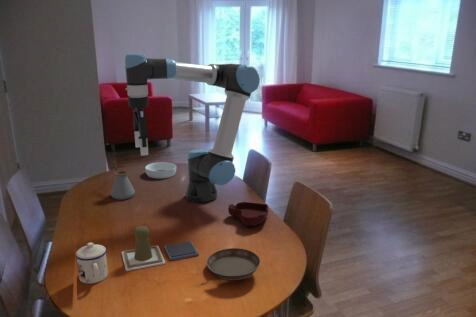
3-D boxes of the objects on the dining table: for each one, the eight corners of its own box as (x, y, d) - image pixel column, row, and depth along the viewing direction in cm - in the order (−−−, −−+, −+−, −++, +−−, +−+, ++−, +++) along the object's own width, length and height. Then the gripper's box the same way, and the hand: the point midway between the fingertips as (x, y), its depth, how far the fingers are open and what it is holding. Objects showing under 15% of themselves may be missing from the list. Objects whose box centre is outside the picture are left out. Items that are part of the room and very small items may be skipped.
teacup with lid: (76, 273, 133) (72, 240, 130) (105, 266, 137) (102, 234, 134) (82, 292, 123) (78, 257, 120) (113, 284, 127) (110, 250, 124)
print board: (158, 246, 150) (158, 244, 150) (165, 263, 139) (165, 260, 138) (121, 253, 146) (121, 250, 146) (125, 271, 134) (125, 268, 134)
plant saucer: (218, 289, 125) (217, 280, 124) (199, 261, 141) (199, 253, 140) (269, 276, 132) (269, 267, 131) (246, 251, 147) (246, 244, 147)
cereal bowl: (150, 185, 218) (149, 172, 216) (142, 176, 232) (141, 164, 230) (181, 180, 225) (180, 168, 224) (171, 172, 240) (170, 160, 238)
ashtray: (279, 222, 172) (280, 211, 171) (246, 230, 164) (246, 219, 163) (256, 208, 187) (256, 198, 186) (225, 215, 179) (225, 204, 178)
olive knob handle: (148, 261, 139) (146, 232, 136) (131, 260, 140) (129, 230, 137) (155, 253, 145) (153, 224, 142) (138, 251, 146) (136, 223, 143)
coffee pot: (138, 199, 197) (136, 169, 193) (113, 204, 192) (111, 173, 188) (126, 186, 215) (124, 159, 211) (104, 190, 210) (101, 162, 206)
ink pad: (191, 243, 153) (191, 240, 153) (198, 255, 144) (198, 252, 144) (164, 247, 150) (164, 244, 149) (170, 260, 141) (170, 257, 140)
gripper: (123, 93, 164) (127, 144, 170) (132, 100, 142) (136, 159, 147) (142, 92, 167) (146, 143, 173) (154, 99, 145) (157, 157, 150)
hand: (141, 151), depth 160 cm, fingers open, 13 cm apart
